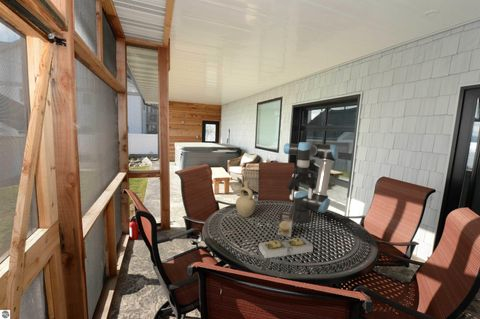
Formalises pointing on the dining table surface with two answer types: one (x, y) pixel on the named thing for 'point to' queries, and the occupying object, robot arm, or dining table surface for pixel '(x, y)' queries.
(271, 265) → the dining table surface
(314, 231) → the dining table surface
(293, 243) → the gold knobbed block
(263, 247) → the grey slotted tray
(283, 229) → the coffee box
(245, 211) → the vase
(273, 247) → the drawer with knob
